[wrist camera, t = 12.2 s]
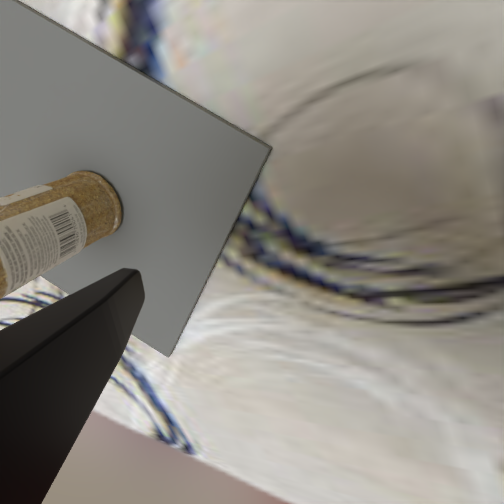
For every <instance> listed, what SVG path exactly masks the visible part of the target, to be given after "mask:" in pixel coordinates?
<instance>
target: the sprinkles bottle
mask: <svg viewBox="0 0 504 504" xmlns="http://www.w3.org/2000/svg"><path fill="white" fill-rule="evenodd" d="M121 214H122V212H121V206H120V202H119V200H118V197H117V195H116V193H115V191H114V189H113V188H112V187H111V186H110V185H109V184H108V183H107V182H106V180H104V179H103V178H102V177H101V176H100V175H97V174H95V173H93V172H89V171H76V172H73V173H71V174H69V175H68V176H67V177H64V178H61V179H59V180H56V181H53V182H50V183H47V184H44V185H38V186H34V187H31V188H28V189H25V190H22V191H19V192H16V193H13V194H10V195H7V196H4V197H1V198H0V299H1V298H3V297H5V296H6V295H8V294H10V293H11V292H13V291H15V290H17V289H18V288H20V287H22V286H23V285H25V284H27V283H28V282H30V281H32V280H34V279H35V278H37V277H39V276H40V275H42V274H44V273H45V272H47V271H49V270H51V269H52V268H54V267H56V266H57V265H59V264H61V263H62V262H64V261H66V260H67V259H69V258H71V257H72V256H74V255H76V254H77V253H79V252H80V251H81V250H82V249H83V248H85V247H87V246H89V245H90V244H92V243H94V242H95V241H97V240H99V239H101V238H104V237H107V236H109V235H111V234H113V233H114V232H115V231H116V230H117V229H118V227H119V225H120V223H121V217H122V215H121Z"/></svg>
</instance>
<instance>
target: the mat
mask: <svg viewBox="0 0 504 504" xmlns="http://www.w3.org/2000/svg"><path fill="white" fill-rule="evenodd" d="M271 149H272V147H270V146H269V145H267V144H265V143H264V142H262V141H260V140H258V139H257V138H255V137H253V136H251V135H250V134H248V133H246V132H245V131H243V130H241V129H239V128H238V127H236V126H234V125H232V124H231V123H229V122H227V121H225V120H224V119H222V118H220V117H219V116H217V115H215V114H213V113H212V112H210V111H208V110H206V109H205V108H203V107H201V106H200V105H198V104H196V103H194V102H193V101H191V100H189V99H187V98H186V97H184V96H182V95H181V94H179V93H177V92H175V91H174V90H172V89H170V88H168V87H167V86H165V85H163V84H162V83H160V82H158V81H156V80H155V79H153V78H151V77H149V76H148V75H146V74H144V73H142V72H141V71H139V70H137V69H136V68H134V67H132V66H130V65H129V64H127V63H125V62H123V61H122V60H120V59H118V58H117V57H115V56H113V55H111V54H110V53H108V52H106V51H104V50H103V49H101V48H99V47H98V46H96V45H94V44H92V43H91V42H89V41H87V40H85V39H84V38H82V37H80V36H78V35H77V34H75V33H73V32H72V31H70V30H68V29H66V28H65V27H63V26H61V25H59V24H58V23H56V22H54V21H53V20H51V19H49V18H47V17H46V16H44V15H42V14H40V13H39V12H37V11H35V10H34V9H32V8H30V7H28V6H27V5H25V4H23V3H21V2H20V1H18V0H0V198H1V197H4V196H7V195H10V194H13V193H16V192H19V191H22V190H25V189H28V188H31V187H34V186H38V185H44V184H47V183H50V182H53V181H56V180H59V179H61V178H64V177H67V176H68V175H69V174H71V173H73V172H76V171H89V172H93V173H95V174H97V175H100V176H101V177H102V178H103V179H104V180H106V182H107V183H108V184H109V185H110V186H111V187H112V188H113V189H114V191H115V193H116V195H117V197H118V200H119V202H120V206H121V212H122V214H121V215H122V217H121V223H120V225H119V227H118V229H117V230H116V231H115V232H114V233H113V234H111V235H109V236H107V237H104V238H101V239H99V240H97V241H95V242H94V243H92V244H90V245H89V246H87V247H85V248H83V249H82V250H81V251H80V252H79V253H77V254H76V255H74V256H72V257H71V258H69V259H67V260H66V261H64V262H62V263H61V264H59V265H57V266H56V267H54V268H52V269H51V270H49V271H47V272H45V273H44V274H42V275H40V276H41V277H43V278H45V279H46V280H48V281H49V282H51V283H52V284H54V285H55V286H57V287H59V288H60V289H62V290H63V291H65V292H66V293H68V294H70V295H71V294H73V293H75V292H76V291H78V290H80V289H82V288H84V287H86V286H88V285H90V284H92V283H94V282H96V281H98V280H100V279H102V278H104V277H106V276H108V275H110V274H112V273H114V272H116V271H118V270H119V269H122V268H131V269H137V270H139V271H140V273H141V276H142V281H143V286H144V291H145V300H144V304H143V306H142V309H141V311H140V313H139V316H138V318H137V321H136V323H135V326H134V328H133V331H132V333H131V334H132V335H134V336H135V337H137V338H138V339H140V340H141V341H143V342H145V343H146V344H148V345H149V346H151V347H152V348H154V349H155V350H157V351H159V352H160V353H162V354H163V355H165V356H166V357H168V358H169V356H170V355H171V354H172V352H173V350H174V348H175V346H176V344H177V341H178V339H179V337H180V335H181V333H182V331H183V329H184V327H185V325H186V323H187V321H188V319H189V317H190V315H191V313H192V311H193V309H194V307H195V305H196V303H197V300H198V298H199V296H200V294H201V292H202V290H203V288H204V286H205V284H206V282H207V280H208V278H209V276H210V274H211V272H212V270H213V268H214V266H215V264H216V261H217V259H218V257H219V255H220V253H221V251H222V249H223V247H224V245H225V243H226V241H227V239H228V237H229V235H230V233H231V231H232V229H233V227H234V225H235V222H236V220H237V218H238V216H239V214H240V212H241V210H242V208H243V206H244V204H245V202H246V200H247V198H248V196H249V194H250V192H251V190H252V188H253V186H254V183H255V181H256V179H257V177H258V175H259V173H260V171H261V169H262V167H263V165H264V163H265V161H266V159H267V157H268V155H269V153H270V151H271Z"/></svg>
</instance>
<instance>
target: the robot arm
mask: <svg viewBox="0 0 504 504" xmlns="http://www.w3.org/2000/svg"><path fill="white" fill-rule="evenodd" d="M144 300H145V291H144V286H143V281H142V276H141V273H140V271H139V270H137V269H131V268H122V269H119V270H118V271H116V272H114V273H112V274H110V275H108V276H106V277H104V278H102V279H100V280H98V281H96V282H94V283H92V284H90V285H88V286H86V287H84V288H82V289H80V290H78V291H76V292H75V293H73V294H71V295H69V296H67V297H65V298H63V299H61V300H59V301H57V302H55V303H53V304H51V305H49V306H47V307H45V308H43V309H41V310H39V311H37V312H35V313H33V314H31V315H30V316H28V317H26V318H24V319H22V320H20V321H18V322H16V323H14V324H12V325H10V326H8V327H6V328H4V329H2V330H0V504H41V503H42V501H43V499H44V498H45V496H46V494H47V492H48V490H49V489H50V487H51V485H52V483H53V481H54V479H55V477H56V476H57V474H58V472H59V470H60V468H61V467H62V465H63V463H64V461H65V459H66V457H67V455H68V453H69V452H70V450H71V448H72V446H73V444H74V443H75V441H76V439H77V437H78V435H79V433H80V432H81V430H82V428H83V426H84V424H85V422H86V420H87V419H88V417H89V415H90V413H91V411H92V410H93V408H94V406H95V404H96V402H97V400H98V399H99V397H100V395H101V393H102V391H103V389H104V388H105V386H106V384H107V382H108V380H109V378H110V377H111V375H112V373H113V371H114V369H115V367H116V366H117V364H118V362H119V360H120V358H121V356H122V354H123V352H124V350H125V347H126V345H127V343H128V340H129V338H130V335H131V333H132V331H133V328H134V326H135V323H136V321H137V318H138V316H139V313H140V311H141V309H142V306H143V304H144Z"/></svg>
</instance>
